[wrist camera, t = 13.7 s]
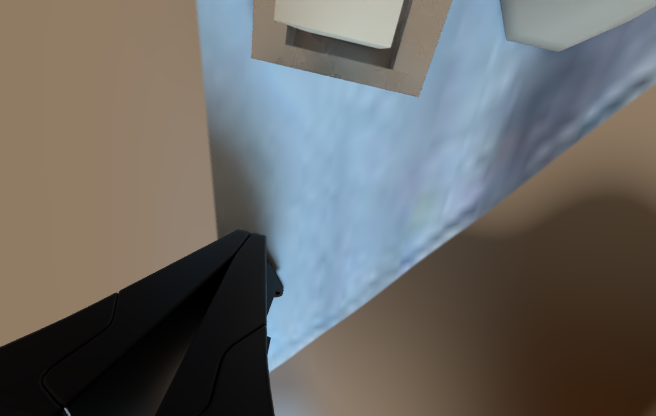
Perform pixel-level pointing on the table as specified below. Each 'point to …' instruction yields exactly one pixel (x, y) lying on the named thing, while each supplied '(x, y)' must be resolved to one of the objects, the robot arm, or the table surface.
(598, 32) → the flask
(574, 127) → the table surface
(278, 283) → the robot arm
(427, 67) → the socket
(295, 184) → the table surface
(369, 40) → the plug
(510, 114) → the table surface
